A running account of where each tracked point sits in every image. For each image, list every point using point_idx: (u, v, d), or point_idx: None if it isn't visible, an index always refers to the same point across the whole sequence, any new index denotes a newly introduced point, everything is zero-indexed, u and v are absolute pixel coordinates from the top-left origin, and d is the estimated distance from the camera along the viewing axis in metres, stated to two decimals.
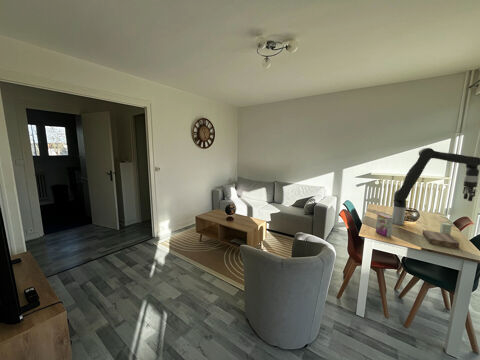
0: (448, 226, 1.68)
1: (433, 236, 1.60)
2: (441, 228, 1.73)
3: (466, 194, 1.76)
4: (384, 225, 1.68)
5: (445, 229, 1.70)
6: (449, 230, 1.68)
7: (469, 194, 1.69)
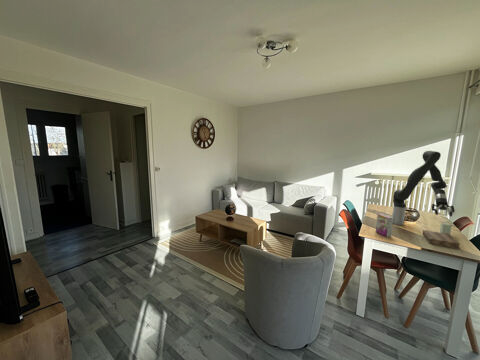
0: (448, 226, 1.68)
1: (433, 236, 1.60)
2: (441, 228, 1.73)
3: None
4: (384, 225, 1.68)
5: (445, 229, 1.70)
6: (449, 230, 1.68)
7: (450, 210, 1.76)
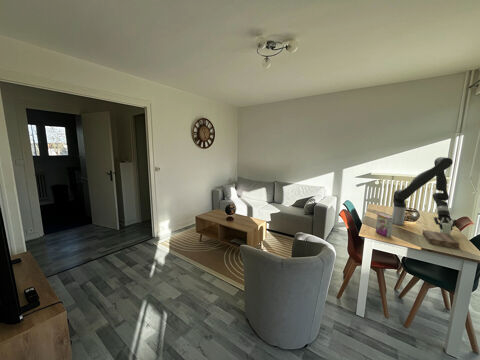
0: (448, 226, 1.68)
1: (433, 236, 1.60)
2: None
3: None
4: (384, 225, 1.68)
5: (444, 229, 1.70)
6: (449, 230, 1.68)
7: (451, 224, 1.70)
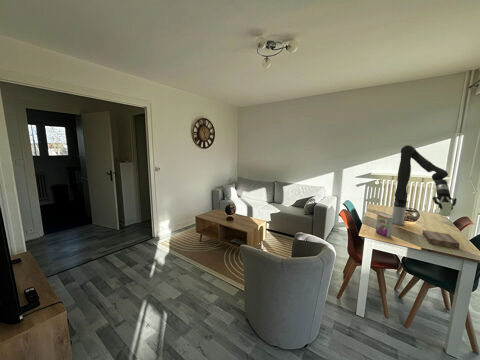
0: (448, 205, 1.55)
1: (433, 236, 1.60)
2: None
3: None
4: (384, 225, 1.68)
5: (444, 209, 1.57)
6: (449, 209, 1.55)
7: (451, 203, 1.57)
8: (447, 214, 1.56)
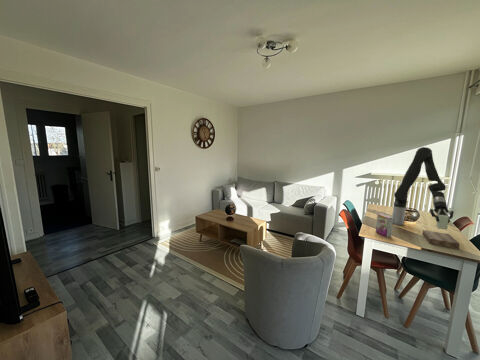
0: (445, 218, 1.55)
1: (433, 236, 1.60)
2: None
3: None
4: (384, 225, 1.68)
5: (441, 222, 1.56)
6: (446, 222, 1.55)
7: None
8: (444, 227, 1.56)
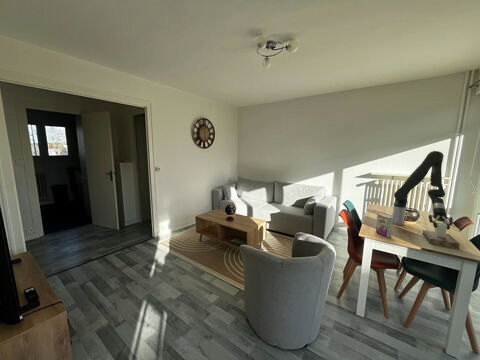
0: (443, 226, 1.56)
1: (433, 236, 1.60)
2: (436, 229, 1.61)
3: None
4: (384, 225, 1.68)
5: (440, 230, 1.58)
6: (444, 231, 1.56)
7: (448, 222, 1.58)
8: (442, 235, 1.57)
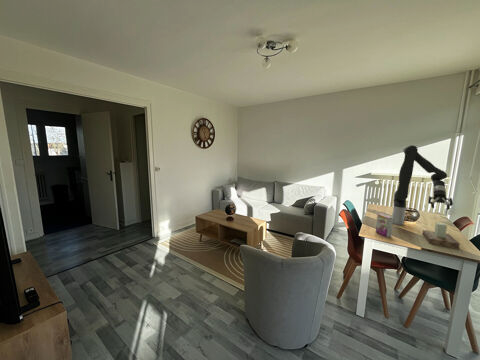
0: (443, 226, 1.56)
1: (433, 236, 1.60)
2: (436, 229, 1.61)
3: None
4: (384, 225, 1.68)
5: (440, 230, 1.58)
6: (444, 231, 1.56)
7: (448, 203, 1.65)
8: (442, 235, 1.57)
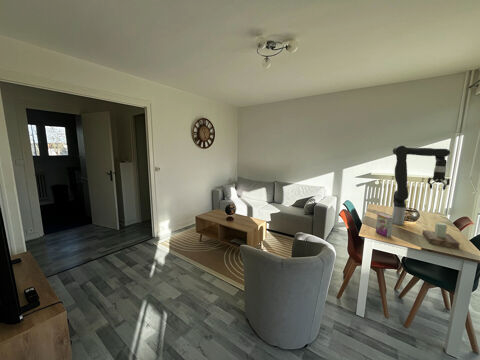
0: (443, 226, 1.56)
1: (433, 236, 1.60)
2: (436, 229, 1.61)
3: (431, 184, 1.86)
4: (384, 225, 1.68)
5: (440, 230, 1.58)
6: (444, 231, 1.56)
7: None
8: (442, 235, 1.57)
